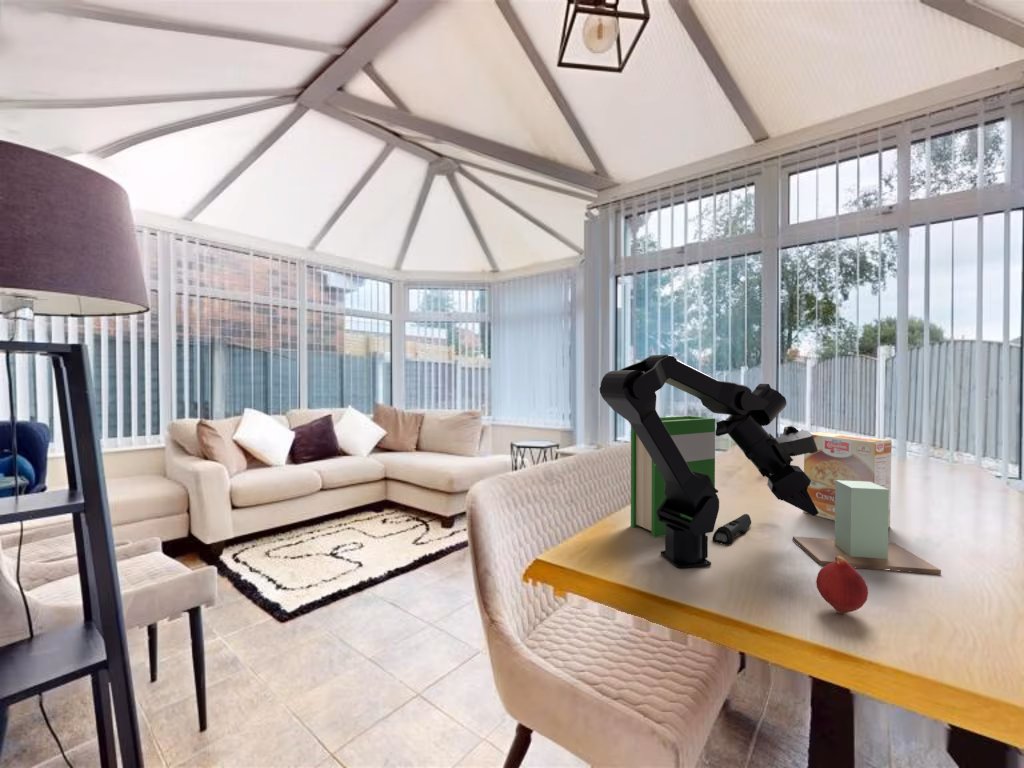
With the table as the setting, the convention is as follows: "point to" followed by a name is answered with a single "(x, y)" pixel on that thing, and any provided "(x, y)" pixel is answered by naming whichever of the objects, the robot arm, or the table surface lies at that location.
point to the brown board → (897, 557)
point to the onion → (842, 586)
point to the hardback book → (647, 480)
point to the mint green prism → (861, 518)
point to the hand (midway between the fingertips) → (808, 504)
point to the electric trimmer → (732, 530)
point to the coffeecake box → (845, 467)
